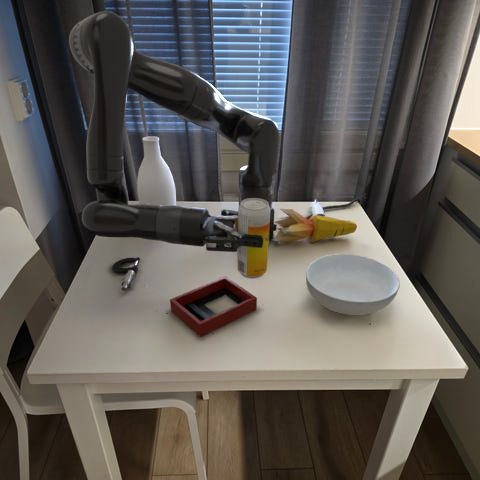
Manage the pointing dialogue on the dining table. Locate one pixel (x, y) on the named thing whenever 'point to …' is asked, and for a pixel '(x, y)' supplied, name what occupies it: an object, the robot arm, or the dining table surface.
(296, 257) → the dining table surface
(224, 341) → the dining table surface
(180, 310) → the red picture frame
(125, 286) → the micrometer
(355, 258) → the serving bowl
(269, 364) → the dining table surface
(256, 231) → the lager tin can
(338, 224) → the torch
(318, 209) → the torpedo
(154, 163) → the bottle
